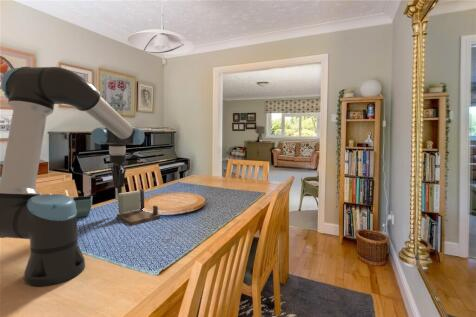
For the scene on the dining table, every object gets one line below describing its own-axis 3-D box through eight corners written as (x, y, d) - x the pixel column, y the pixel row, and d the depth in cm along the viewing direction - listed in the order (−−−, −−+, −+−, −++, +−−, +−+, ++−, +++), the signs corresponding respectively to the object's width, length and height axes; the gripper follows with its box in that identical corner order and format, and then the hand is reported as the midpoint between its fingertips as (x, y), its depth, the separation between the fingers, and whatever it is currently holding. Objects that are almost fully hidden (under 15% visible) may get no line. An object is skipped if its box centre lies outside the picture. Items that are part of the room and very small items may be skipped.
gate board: (130, 225, 121) (130, 198, 120) (116, 217, 132) (116, 192, 131) (160, 218, 132) (160, 193, 130) (145, 210, 143) (144, 188, 141)
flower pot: (73, 213, 135) (73, 196, 134) (93, 212, 139) (92, 195, 138) (71, 219, 127) (70, 201, 127) (91, 217, 131) (91, 199, 130)
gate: (138, 208, 139) (138, 190, 138) (140, 209, 137) (139, 191, 136) (118, 212, 131) (118, 193, 130) (120, 213, 130) (119, 194, 129)
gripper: (130, 155, 132) (131, 200, 135) (120, 153, 141) (121, 196, 144) (115, 155, 127) (116, 203, 129) (105, 153, 136) (106, 198, 138)
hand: (119, 199), depth 136 cm, fingers closed
